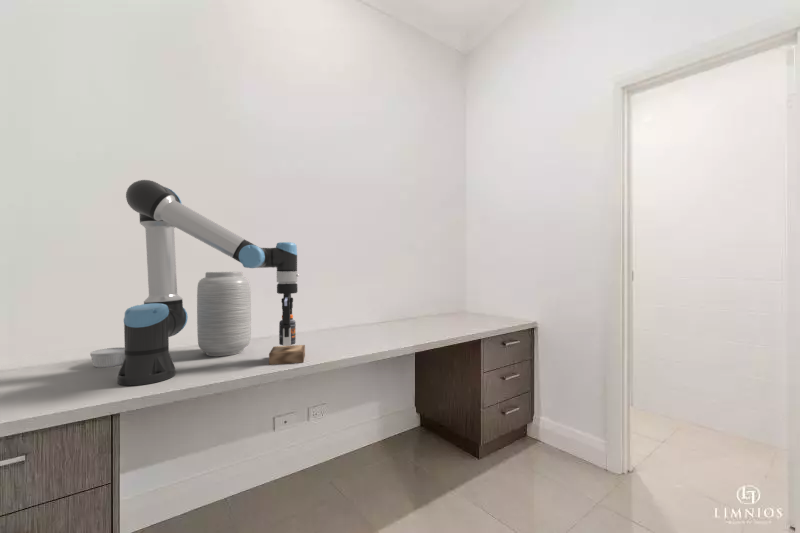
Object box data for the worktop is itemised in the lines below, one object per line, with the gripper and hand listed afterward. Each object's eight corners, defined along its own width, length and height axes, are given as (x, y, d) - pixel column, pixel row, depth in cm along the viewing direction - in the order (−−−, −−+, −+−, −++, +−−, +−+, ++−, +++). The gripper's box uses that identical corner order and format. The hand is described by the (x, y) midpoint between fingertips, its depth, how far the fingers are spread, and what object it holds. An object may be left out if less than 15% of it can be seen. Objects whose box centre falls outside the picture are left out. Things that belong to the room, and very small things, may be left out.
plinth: (269, 364, 132) (269, 352, 132) (273, 356, 144) (273, 345, 144) (303, 362, 135) (303, 351, 135) (305, 354, 147) (304, 344, 147)
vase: (246, 345, 167) (245, 271, 167) (255, 353, 150) (255, 271, 150) (195, 351, 156) (194, 272, 156) (199, 361, 139) (198, 272, 139)
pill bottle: (290, 346, 136) (290, 315, 136) (276, 345, 137) (276, 315, 137) (298, 342, 142) (298, 313, 142) (284, 342, 143) (284, 313, 143)
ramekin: (134, 359, 142) (133, 346, 142) (122, 367, 132) (121, 352, 132) (99, 362, 139) (99, 348, 139) (84, 370, 128) (84, 355, 128)
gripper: (295, 283, 131) (296, 348, 131) (299, 281, 150) (299, 338, 150) (273, 284, 130) (274, 349, 130) (279, 282, 148) (280, 339, 148)
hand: (287, 343), depth 140 cm, fingers closed on pill bottle, 6 cm apart
